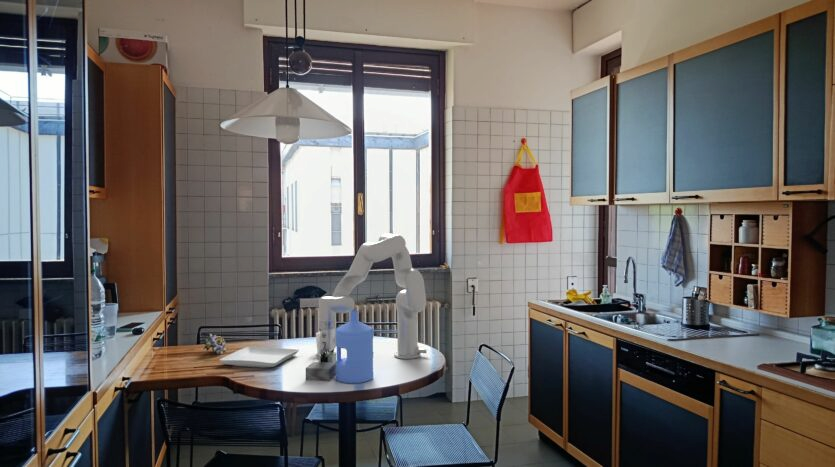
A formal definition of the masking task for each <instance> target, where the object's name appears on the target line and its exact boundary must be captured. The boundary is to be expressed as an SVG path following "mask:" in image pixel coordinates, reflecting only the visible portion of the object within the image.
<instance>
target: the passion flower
mask: <svg viewBox="0 0 835 467" xmlns="http://www.w3.org/2000/svg"><path fill="white" fill-rule="evenodd" d="M203 343H204V345H205V346H204V347H203V349H202V350H205V349H206V350H205V351H206V353H205V354H207V353H208V351H209V350H210V349H211V351H212V352H214V353H215V354H217V355H223V351H226V349H227V348H226V340H225V339H224V336H223V335H221V336H220V335H219V336H218V335H216V334H214V335H213V334H212V333H209V339H207V338H206V339H205V340H204V341H203Z"/></svg>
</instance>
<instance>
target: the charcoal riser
mask: <svg viewBox="0 0 835 467" xmlns="http://www.w3.org/2000/svg"><path fill="white" fill-rule="evenodd" d="M335 373H336V363H331V362H319V361H312V362H311V363H310V364H309V365H308V366H306V367H305V381H314V382H315V381H317V382H330V381H331V380H332V379H334V378H335Z"/></svg>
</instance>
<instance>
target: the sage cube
mask: <svg viewBox="0 0 835 467" xmlns="http://www.w3.org/2000/svg"><path fill="white" fill-rule="evenodd" d="M325 354H326V352H325ZM320 355H321V354H318V358H319V359H318V362H320ZM327 357H328V362H331V363H336V361H337V351H336V352H335V351H334V352H328V354H327Z"/></svg>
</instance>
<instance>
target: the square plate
mask: <svg viewBox="0 0 835 467" xmlns="http://www.w3.org/2000/svg"><path fill="white" fill-rule="evenodd" d="M298 352H300V350H299V348H298V349H297V348H295V349H294V348H284V347H283V348H282V347H274V346H273V347H270V346H246V347H244V348H241V349H239V350H236V351H234V352H232V353H230V354H228V355H226V356H224V357H222V358H220V359H219V361H220V362H221V363H222V364H225V365H228V366H229V365H230V366H233V367H234V366H235V367H246V366H247V367H248V368H251V367H252V368H265V369H266V368H273V367H276V366H278V365H279V364H281V363H282V362H284V361H286V360H288V359H290V358H292V357H294V356H295V355H296V354H297V353H298Z"/></svg>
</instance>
